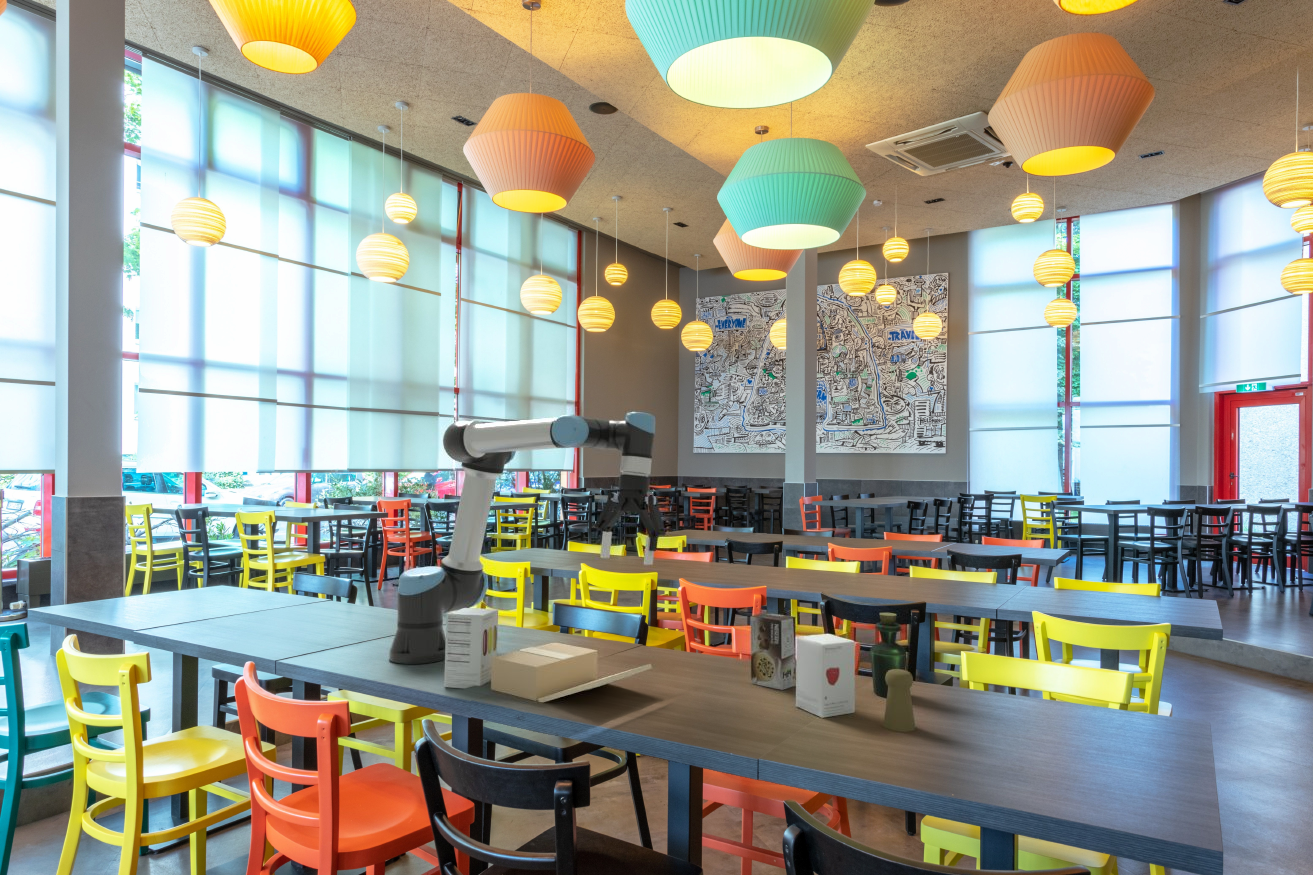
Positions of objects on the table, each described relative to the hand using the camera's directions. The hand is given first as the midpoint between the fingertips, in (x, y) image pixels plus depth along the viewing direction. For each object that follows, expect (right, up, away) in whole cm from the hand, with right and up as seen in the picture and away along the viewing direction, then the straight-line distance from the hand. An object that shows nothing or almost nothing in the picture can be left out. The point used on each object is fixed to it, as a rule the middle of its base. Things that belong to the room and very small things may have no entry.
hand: (625, 561), depth 186 cm
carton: (-18, -27, -12) cm, 35 cm away
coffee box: (+35, -28, -6) cm, 46 cm away
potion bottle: (+60, -28, -13) cm, 68 cm away
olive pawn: (+55, -27, -36) cm, 71 cm away
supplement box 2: (+43, -28, -25) cm, 57 cm away
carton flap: (-12, -26, -17) cm, 33 cm away
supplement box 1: (-36, -28, -8) cm, 46 cm away
